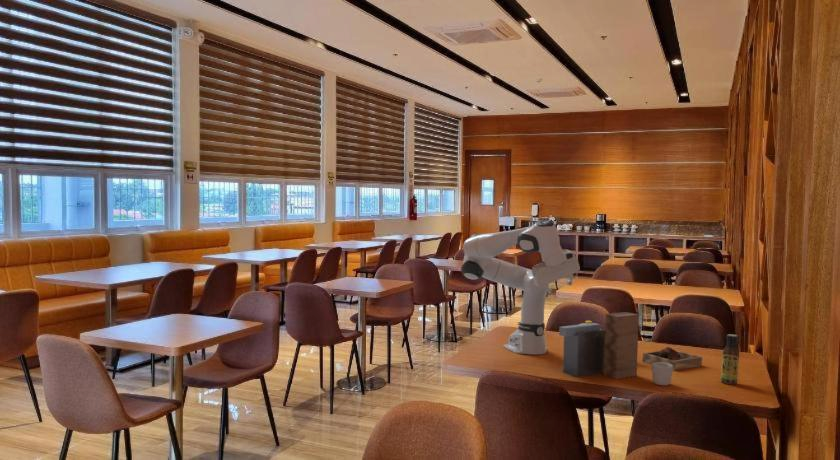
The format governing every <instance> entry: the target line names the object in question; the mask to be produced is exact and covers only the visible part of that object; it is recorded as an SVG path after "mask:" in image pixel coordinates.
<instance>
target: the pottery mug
mask: <svg viewBox="0 0 840 460" xmlns="http://www.w3.org/2000/svg"><path fill="white" fill-rule="evenodd" d="M675 350H676V349H673V348H672V347H670V346H666V347H665V348H663V349H661V350H659V351H660V352H659V354H658V356H657V357H661V358H665V359H667V358H668V357H669V353H670V355H672V356H674V357H675V358H677V360H680V356H681V355H680V354H679V353H677V352H676V351H677V350H676V351H675ZM668 359H669V358H668Z"/></svg>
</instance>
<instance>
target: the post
mask: <svg viewBox="0 0 840 460" xmlns="http://www.w3.org/2000/svg"><path fill="white" fill-rule="evenodd" d="M639 315H640V314H636V313H633V312H627V311H625V312H624V311H623V312H621V311H620V312H613V313H605V326H604V329H605V352H604V373H603V376H605V377H609V378H611V379H615V380H619V379H620V378H621V379H625V378H626V377H627V378H631V376H632V377H637V375H638V349H639V347H638V345H639V344H638V343H639V319H640V318H639V317H640V316H639ZM627 378H626V379H627Z"/></svg>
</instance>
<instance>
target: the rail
mask: <svg viewBox="0 0 840 460" xmlns="http://www.w3.org/2000/svg"><path fill="white" fill-rule="evenodd" d="M579 324H580V325H579ZM579 324H573V325H565V326H563V325H562V326H559V329H558V335H559V336H561V337H563V338H564V337H566V336H575V335H577V333H578V332H587V331H595V330H600V329H601V324H600V323H595V322H592V323H589V324H582V323H579Z"/></svg>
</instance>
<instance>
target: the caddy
mask: <svg viewBox="0 0 840 460" xmlns="http://www.w3.org/2000/svg"><path fill="white" fill-rule="evenodd" d="M674 350H675V351H676V352H677V353H679V354H680V355H681V356H680V360H677V358H675V357H674V356H672V355H670V353H669V357H668V358H667V359H665V358H661V357H657V356H658V354H659V352H660V351H661V350H656V351H650V352H644V353H642V363H645V364H649V365H652V363H654V362H663V363H669V364H671V365H673V369H672V372H674V371H680V370H684V369H691V368H697V367H702V365H703V356H700V355H696V354H692V353H687V352H684V351H679V350H676V349H674Z"/></svg>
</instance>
